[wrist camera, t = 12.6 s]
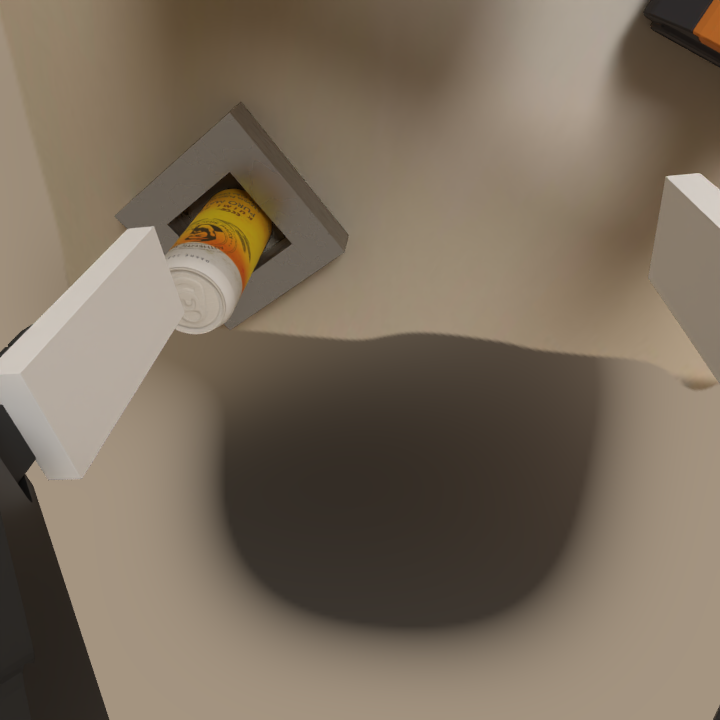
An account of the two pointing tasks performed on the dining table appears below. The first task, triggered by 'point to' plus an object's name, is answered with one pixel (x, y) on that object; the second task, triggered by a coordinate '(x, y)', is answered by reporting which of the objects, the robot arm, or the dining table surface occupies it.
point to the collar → (268, 189)
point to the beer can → (217, 258)
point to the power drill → (689, 25)
